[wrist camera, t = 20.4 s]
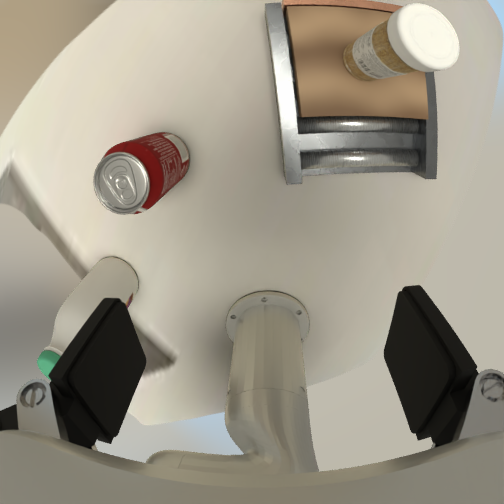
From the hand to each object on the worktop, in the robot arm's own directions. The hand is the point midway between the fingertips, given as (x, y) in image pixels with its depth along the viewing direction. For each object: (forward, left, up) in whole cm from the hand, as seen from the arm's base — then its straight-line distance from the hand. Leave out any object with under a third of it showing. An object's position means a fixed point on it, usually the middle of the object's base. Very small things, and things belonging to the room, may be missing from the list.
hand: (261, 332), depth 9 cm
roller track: (+9, -11, -27) cm, 30 cm away
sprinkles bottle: (+12, -11, -22) cm, 27 cm away
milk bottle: (-13, +24, -27) cm, 38 cm away
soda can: (+3, +12, -27) cm, 30 cm away
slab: (+12, -11, -24) cm, 29 cm away
